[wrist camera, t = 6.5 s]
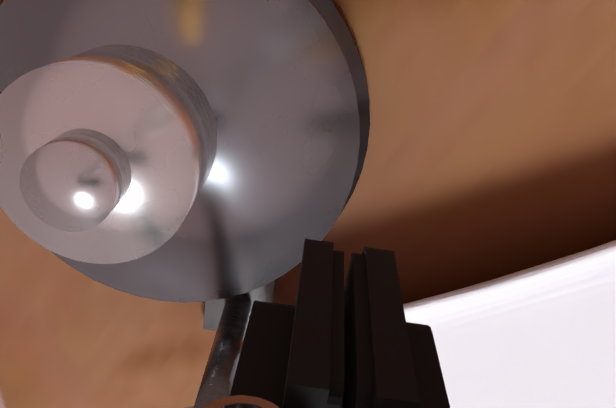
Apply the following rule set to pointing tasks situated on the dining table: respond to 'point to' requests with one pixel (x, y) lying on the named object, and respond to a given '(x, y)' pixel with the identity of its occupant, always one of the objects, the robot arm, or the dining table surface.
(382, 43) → the dining table surface
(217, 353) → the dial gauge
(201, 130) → the cover
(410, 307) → the salad plate
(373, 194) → the dining table surface
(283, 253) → the turntable
